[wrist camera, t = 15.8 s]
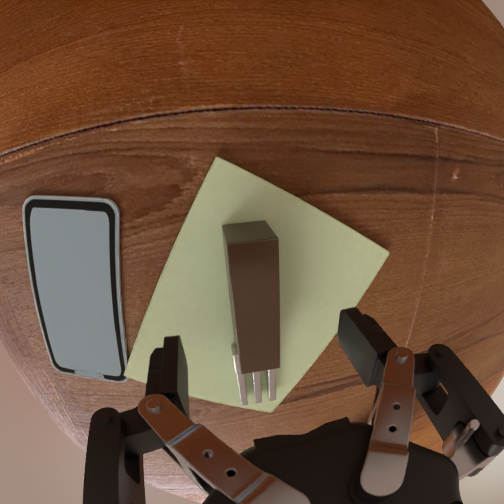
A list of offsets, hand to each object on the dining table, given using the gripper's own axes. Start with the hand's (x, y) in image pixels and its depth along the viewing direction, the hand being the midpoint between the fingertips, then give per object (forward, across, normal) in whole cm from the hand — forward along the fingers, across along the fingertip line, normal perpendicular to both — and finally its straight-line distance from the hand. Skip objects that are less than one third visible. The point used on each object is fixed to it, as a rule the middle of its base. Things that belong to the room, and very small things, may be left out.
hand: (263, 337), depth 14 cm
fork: (+6, 0, +3) cm, 6 cm away
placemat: (+6, 0, +3) cm, 7 cm away
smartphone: (+7, +12, 0) cm, 14 cm away
